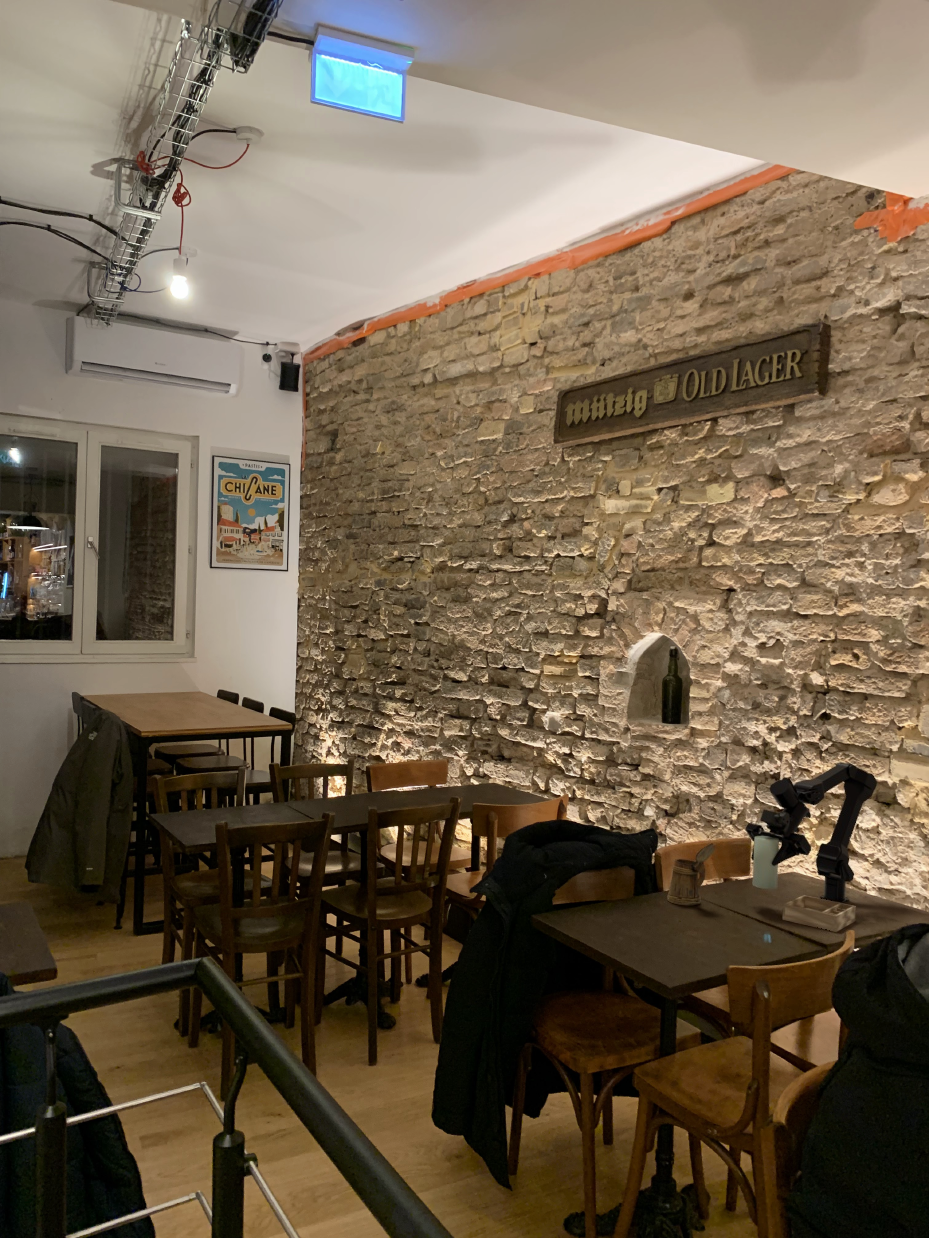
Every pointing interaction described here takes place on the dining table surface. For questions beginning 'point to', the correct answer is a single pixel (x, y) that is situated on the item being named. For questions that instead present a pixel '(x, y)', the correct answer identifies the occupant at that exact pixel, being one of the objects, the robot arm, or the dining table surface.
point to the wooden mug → (688, 878)
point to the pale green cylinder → (765, 862)
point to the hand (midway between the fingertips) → (762, 862)
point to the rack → (819, 913)
